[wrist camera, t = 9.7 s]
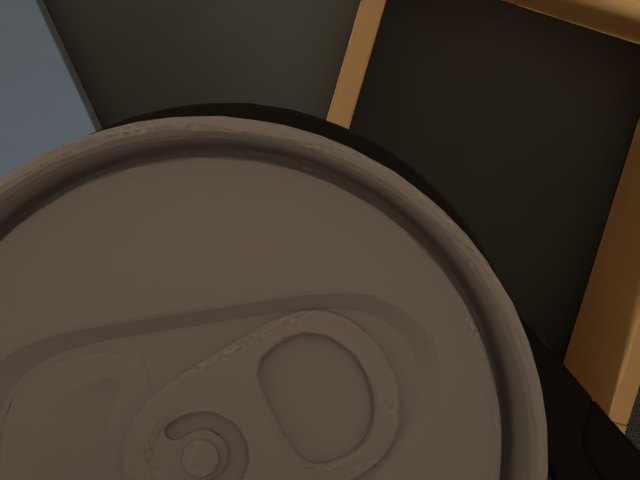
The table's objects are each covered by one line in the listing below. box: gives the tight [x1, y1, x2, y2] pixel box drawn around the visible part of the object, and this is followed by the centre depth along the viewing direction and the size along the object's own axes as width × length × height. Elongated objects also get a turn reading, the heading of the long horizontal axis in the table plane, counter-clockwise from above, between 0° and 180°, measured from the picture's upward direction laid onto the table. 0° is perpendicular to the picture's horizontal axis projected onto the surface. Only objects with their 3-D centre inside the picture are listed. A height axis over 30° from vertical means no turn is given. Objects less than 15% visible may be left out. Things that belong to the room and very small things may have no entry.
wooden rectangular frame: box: [326, 0, 640, 434], centre depth 21 cm, size 17×14×4 cm
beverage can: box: [0, 103, 548, 480], centre depth 10 cm, size 7×7×12 cm
